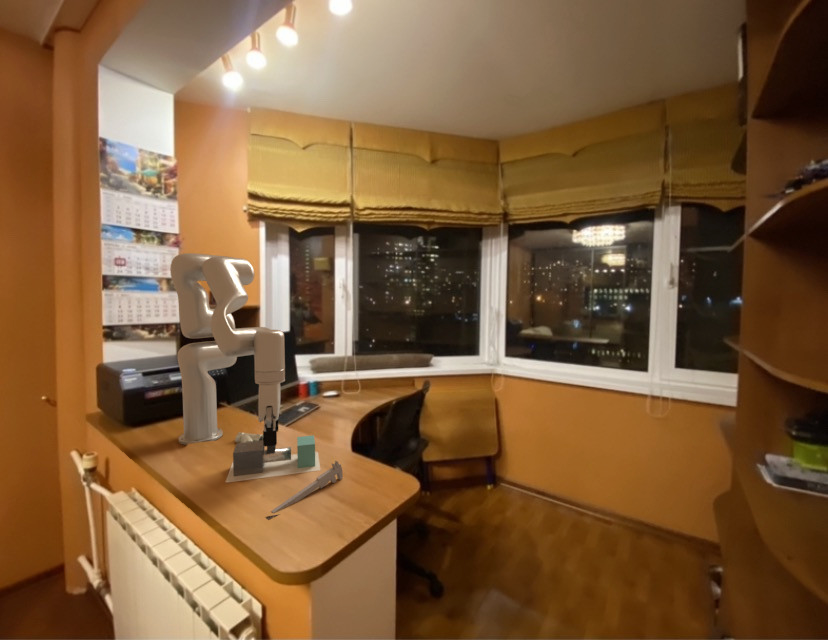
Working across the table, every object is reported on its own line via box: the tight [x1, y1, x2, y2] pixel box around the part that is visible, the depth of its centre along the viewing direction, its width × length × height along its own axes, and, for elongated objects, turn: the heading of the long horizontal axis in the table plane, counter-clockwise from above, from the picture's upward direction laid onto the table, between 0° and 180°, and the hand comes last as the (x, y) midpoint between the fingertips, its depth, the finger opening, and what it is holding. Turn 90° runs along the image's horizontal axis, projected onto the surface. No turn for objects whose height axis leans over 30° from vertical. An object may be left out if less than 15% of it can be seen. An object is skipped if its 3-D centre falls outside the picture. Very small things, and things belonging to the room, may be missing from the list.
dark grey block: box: [232, 441, 266, 476], centre depth 99 cm, size 6×7×6 cm
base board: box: [225, 451, 321, 483], centre depth 101 cm, size 12×23×1 cm, turn 108°
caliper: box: [265, 460, 343, 521], centre depth 87 cm, size 20×1×6 cm, turn 142°
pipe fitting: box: [234, 431, 263, 443], centre depth 116 cm, size 8×4×7 cm
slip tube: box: [263, 444, 292, 463], centre depth 100 cm, size 3×14×9 cm, turn 108°
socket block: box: [296, 434, 316, 468], centre depth 104 cm, size 6×5×6 cm
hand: (271, 438), depth 100 cm, fingers open, 9 cm apart
